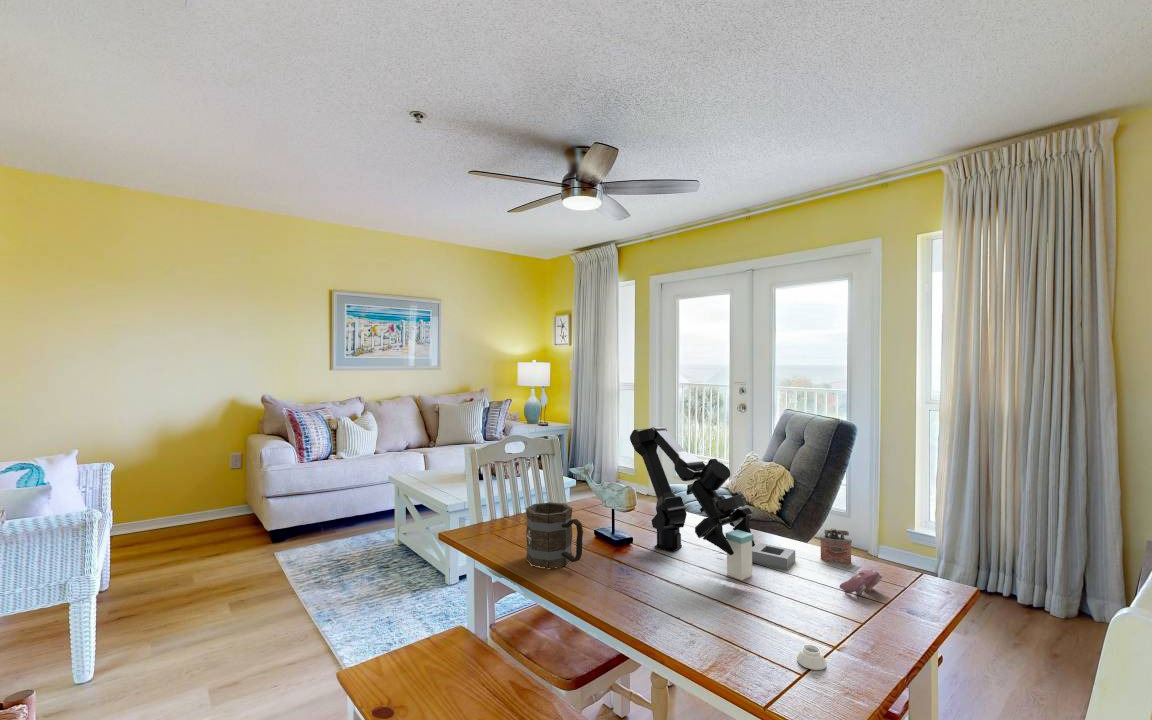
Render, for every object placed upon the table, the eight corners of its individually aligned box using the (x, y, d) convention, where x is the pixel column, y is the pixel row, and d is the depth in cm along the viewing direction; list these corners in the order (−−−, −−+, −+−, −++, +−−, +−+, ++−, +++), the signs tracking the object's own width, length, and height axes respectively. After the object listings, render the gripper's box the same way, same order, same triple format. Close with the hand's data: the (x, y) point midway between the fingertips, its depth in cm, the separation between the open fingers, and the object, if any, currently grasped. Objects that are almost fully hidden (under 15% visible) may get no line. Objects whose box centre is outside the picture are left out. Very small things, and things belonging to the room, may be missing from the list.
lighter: (820, 564, 146) (820, 529, 146) (819, 560, 150) (819, 525, 150) (852, 568, 143) (852, 532, 143) (851, 564, 147) (850, 528, 147)
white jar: (828, 673, 96) (823, 658, 101) (828, 657, 96) (822, 643, 101) (799, 670, 97) (795, 655, 102) (799, 654, 97) (795, 640, 102)
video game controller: (851, 604, 126) (864, 583, 123) (836, 589, 130) (847, 568, 127) (876, 595, 131) (888, 574, 128) (860, 581, 134) (872, 560, 132)
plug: (725, 578, 137) (725, 533, 137) (737, 573, 140) (737, 529, 140) (741, 585, 133) (741, 538, 133) (753, 580, 136) (753, 534, 136)
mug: (516, 560, 151) (516, 508, 151) (550, 548, 160) (550, 499, 160) (564, 580, 137) (564, 523, 137) (598, 565, 147) (597, 512, 147)
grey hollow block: (750, 563, 146) (750, 550, 146) (759, 554, 152) (759, 542, 152) (787, 571, 140) (787, 558, 140) (795, 562, 146) (795, 550, 146)
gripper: (703, 487, 134) (740, 542, 126) (746, 477, 146) (783, 526, 137) (680, 511, 141) (714, 564, 132) (723, 499, 152) (756, 548, 143)
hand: (743, 550), depth 136 cm, fingers open, 9 cm apart
